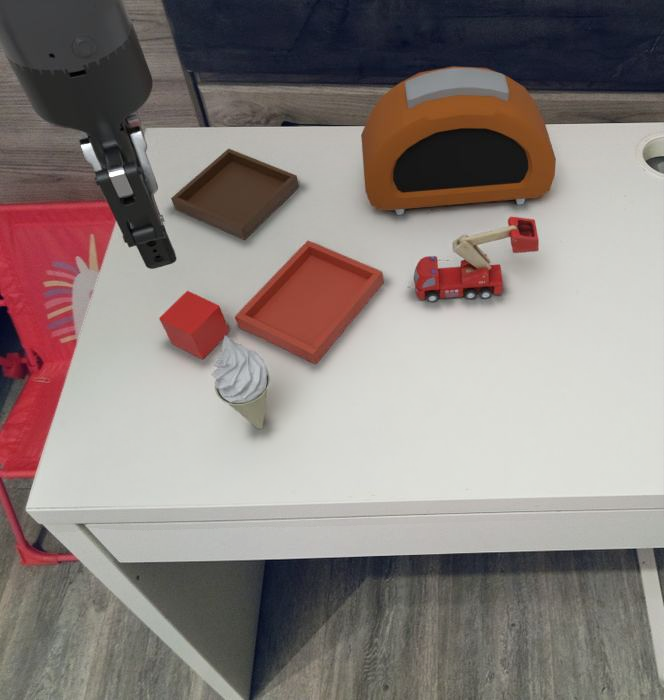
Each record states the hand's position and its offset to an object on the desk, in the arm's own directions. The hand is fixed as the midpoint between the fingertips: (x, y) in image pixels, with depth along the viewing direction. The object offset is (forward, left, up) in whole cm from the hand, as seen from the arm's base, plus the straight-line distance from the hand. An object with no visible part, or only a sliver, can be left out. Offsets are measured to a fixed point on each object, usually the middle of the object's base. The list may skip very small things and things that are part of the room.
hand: (152, 225), depth 59 cm
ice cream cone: (-1, -4, -26) cm, 26 cm away
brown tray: (+25, +20, -26) cm, 41 cm away
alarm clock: (+41, -4, -26) cm, 48 cm away
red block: (+5, +9, -26) cm, 28 cm away
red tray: (+15, +1, -26) cm, 30 cm away
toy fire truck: (+26, -14, -26) cm, 40 cm away
